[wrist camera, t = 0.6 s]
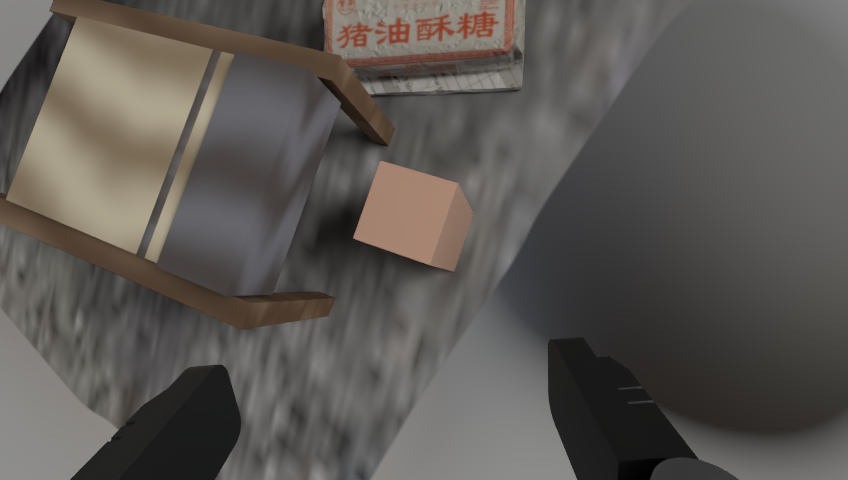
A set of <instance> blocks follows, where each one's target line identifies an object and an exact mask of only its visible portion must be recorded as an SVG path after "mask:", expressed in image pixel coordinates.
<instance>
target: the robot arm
mask: <svg viewBox="0 0 848 480" xmlns="http://www.w3.org/2000/svg"><path fill="white" fill-rule="evenodd" d="M548 394H549V404H550V409H551V413H552V417H553V420H554V423H555V426H556V428H557V430H558V433H559V435H560V438H561V440H562V443H563V445H564V448H565V450H566V453H567V455H568V458H569V460H570V463H571V465H572V468H573V470H574V473H575V475H576V478H577V480H739V479H737V478H736V477H735V476H733V475H732V474H730V473H728V472H727V471H725V470H723V469H721V468H719V467H717V466H715V465H713V464H710V463H707V462H704V461H701V460H699V459H698V458H697V456H696V455H695V454H694V453H693V451H692V450H691V449H690V448H689V446H688V445H687V444H686V442H685V441H684V440H683V438H682V437H681V436H680V435H679V434H678V432H677V431H676V429H675V428H674V427H673V426H672V424H671V423H670V422H669V420H668V419H667V418H666V417H665V415H664V414H663V413H662V412H661V410H660V409H659V408H658V406H657V405H656V404H653V401H652V399H651V397H650V396H649V395H648V394H647V392H646V391H645V390H644V389H642V386H641V384H640V383H639V382H638V381H637V379H636V378H635V377H634V375H633V374H632V373H631V372H630V370H629V369H627V368H626V367H624V366H623V365H621V364H620V363H618V362H617V361H615V360H613V359H612V358H611V357H609V356H608V357H596V355H595V354H594V353H593V351H592V350H591V348H590V347H589V345H588V344H587V342H586V341H585V340H584V338H583V337H572V338H560V339H550V340H549V343H548ZM240 428H241V417H240V412H239V409H238V406H237V402H236V399H235V395H234V392H233V388H232V385H231V381H230V378H229V374H228V371H227V369H226V368H225V367H224V366H223V365H210V366H198V367H190V368H188V369H186V370H185V371H184V372H183V373H182V374H181V375H180V376H179V377H178V378H177V379H176V380H175V381H174V382H173V384H172V385H171V386H170V387H169V388H168V389H167V390H165V391H163V392H162V393H161V394H159V395H158V396H156V397H155V398H153V399H152V400H150V401H149V402H147V403H146V404H144V405H143V406H142V407H141V408H140V409H139V410H138V411H137V412H136V413H135V414H134V415H133V416H132V417H131V418H130V419H129V420H128V421H127V422H126V426H122V427H121V428H120V429H119V430H118V432H116V434H115V435H114V436H113V437H112V438H111V441H110V442H107V443H106V444H105V445H104V446H103V447H102V448H101V449H100V450H99V451H98V452H97V453H96V454H95V455H94V456H93V457H92V458H91V459H90V460H89V461H88V462H87V463H86V464H85V465H84V466H83V467H82V468H81V469H80V470H79V471H78V472H77V473H76V474H75V475H74V476H73V477H72V478H71V480H215V478H216V477H217V475H218V473H219V472H220V470H221V468H222V466H223V465H224V463H225V461H226V460H227V458H228V456H229V454H230V453H231V451H232V449H233V448H234V446H235V444H236V442H237V440H238V437H239V434H240Z"/></svg>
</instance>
